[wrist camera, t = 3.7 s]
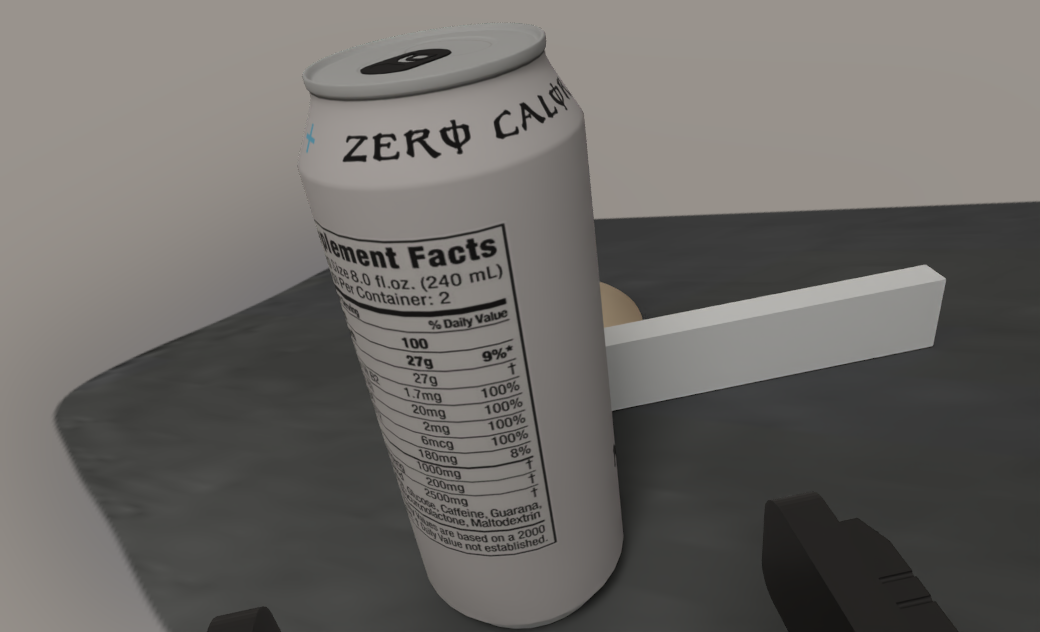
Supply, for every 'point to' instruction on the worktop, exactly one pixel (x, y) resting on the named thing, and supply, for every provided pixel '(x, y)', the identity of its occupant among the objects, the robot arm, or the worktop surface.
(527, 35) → the energy drink can
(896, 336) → the white rectangular bar
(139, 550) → the worktop surface
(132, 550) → the worktop surface
